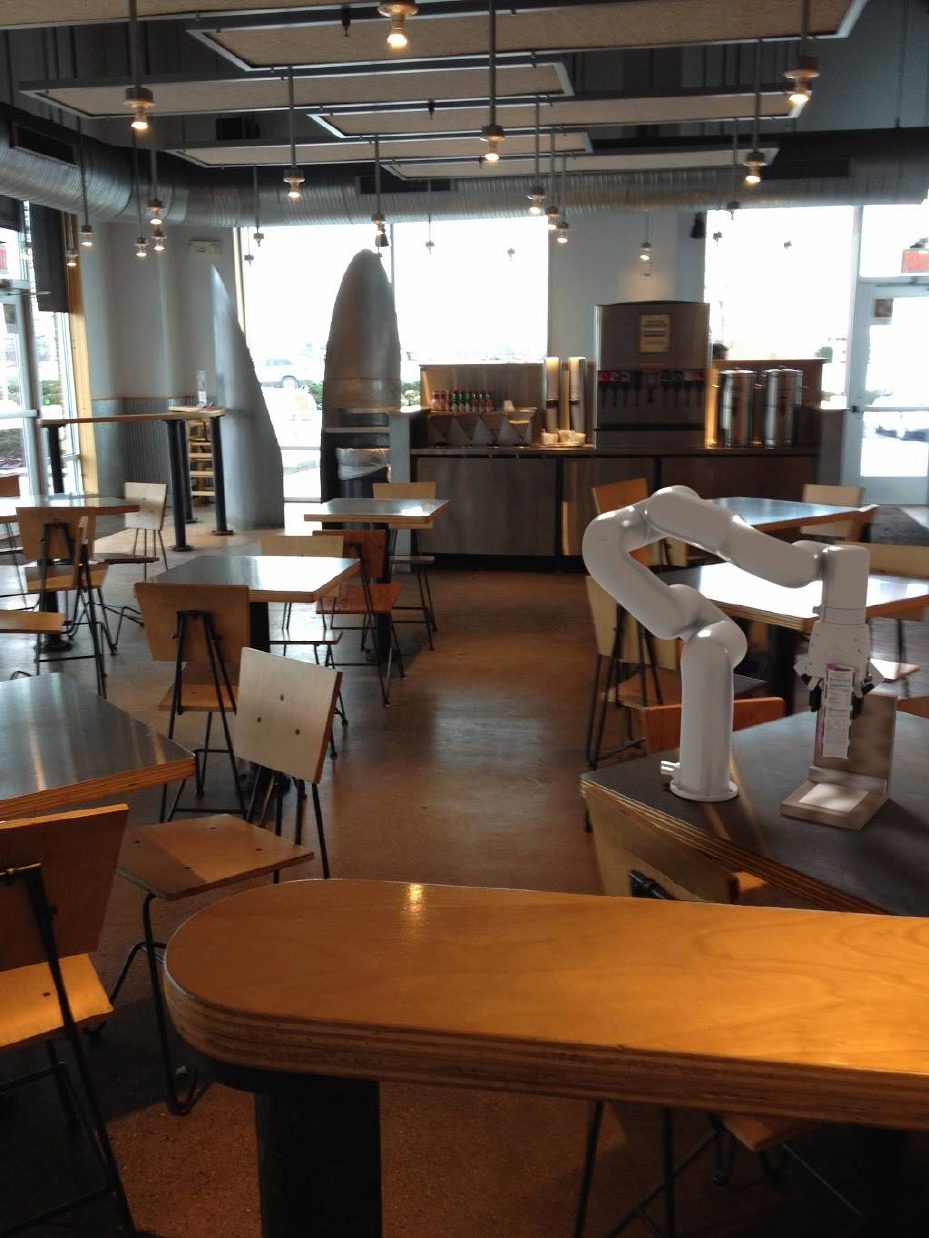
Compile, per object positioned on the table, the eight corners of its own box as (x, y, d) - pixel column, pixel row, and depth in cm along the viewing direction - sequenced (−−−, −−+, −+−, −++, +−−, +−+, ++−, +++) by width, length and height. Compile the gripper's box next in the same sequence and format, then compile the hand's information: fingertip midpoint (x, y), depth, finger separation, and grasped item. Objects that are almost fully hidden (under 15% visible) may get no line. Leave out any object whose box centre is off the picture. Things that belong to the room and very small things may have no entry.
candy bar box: (816, 739, 205) (822, 653, 202) (844, 741, 204) (851, 655, 200) (819, 758, 194) (826, 667, 191) (849, 760, 193) (857, 669, 190)
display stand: (780, 813, 200) (787, 706, 196) (815, 783, 216) (822, 683, 212) (859, 830, 192) (867, 719, 188) (889, 797, 208) (897, 695, 204)
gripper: (786, 613, 196) (780, 710, 200) (887, 625, 186) (878, 727, 190) (801, 607, 202) (794, 701, 206) (899, 618, 192) (891, 717, 196)
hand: (835, 713), depth 198 cm, fingers closed on candy bar box, 6 cm apart
